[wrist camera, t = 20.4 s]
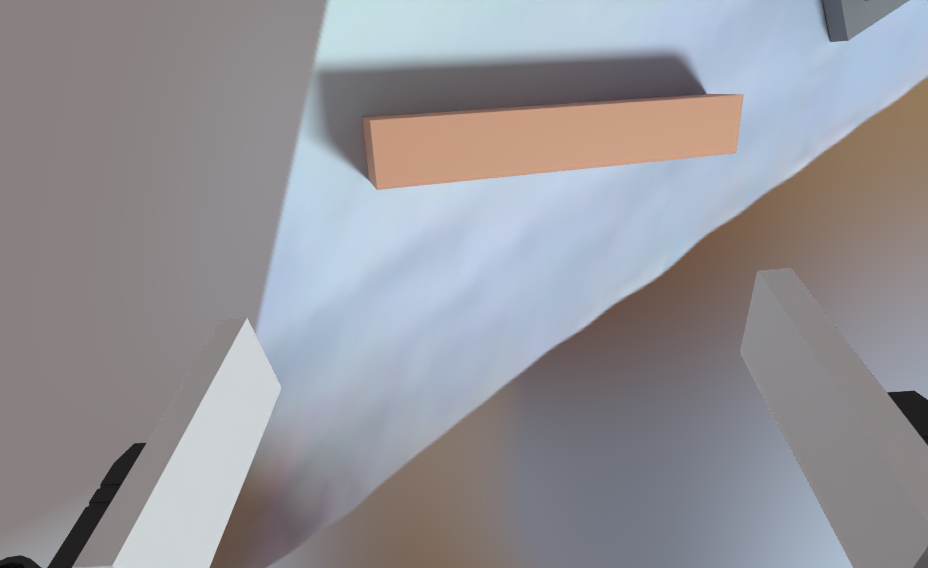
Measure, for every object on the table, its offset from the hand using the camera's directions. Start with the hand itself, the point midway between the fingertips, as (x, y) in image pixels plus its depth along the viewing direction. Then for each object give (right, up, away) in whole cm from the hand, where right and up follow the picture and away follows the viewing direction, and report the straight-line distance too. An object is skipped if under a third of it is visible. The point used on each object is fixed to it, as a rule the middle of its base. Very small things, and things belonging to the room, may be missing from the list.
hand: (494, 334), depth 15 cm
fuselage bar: (+5, +12, +25) cm, 28 cm away
